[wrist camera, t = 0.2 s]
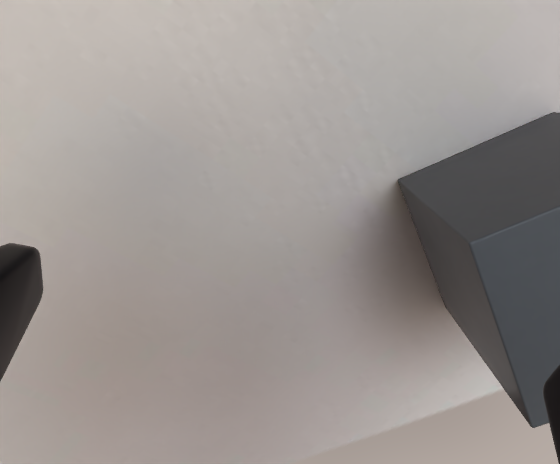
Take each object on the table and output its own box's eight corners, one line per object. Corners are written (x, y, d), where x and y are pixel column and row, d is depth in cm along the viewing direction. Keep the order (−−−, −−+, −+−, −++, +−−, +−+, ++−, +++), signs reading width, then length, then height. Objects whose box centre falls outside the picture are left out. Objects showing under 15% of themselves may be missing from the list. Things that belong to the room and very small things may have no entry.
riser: (445, 307, 22) (532, 429, 14) (397, 179, 20) (468, 243, 12) (589, 252, 21) (762, 351, 14) (554, 111, 19) (735, 135, 11)
